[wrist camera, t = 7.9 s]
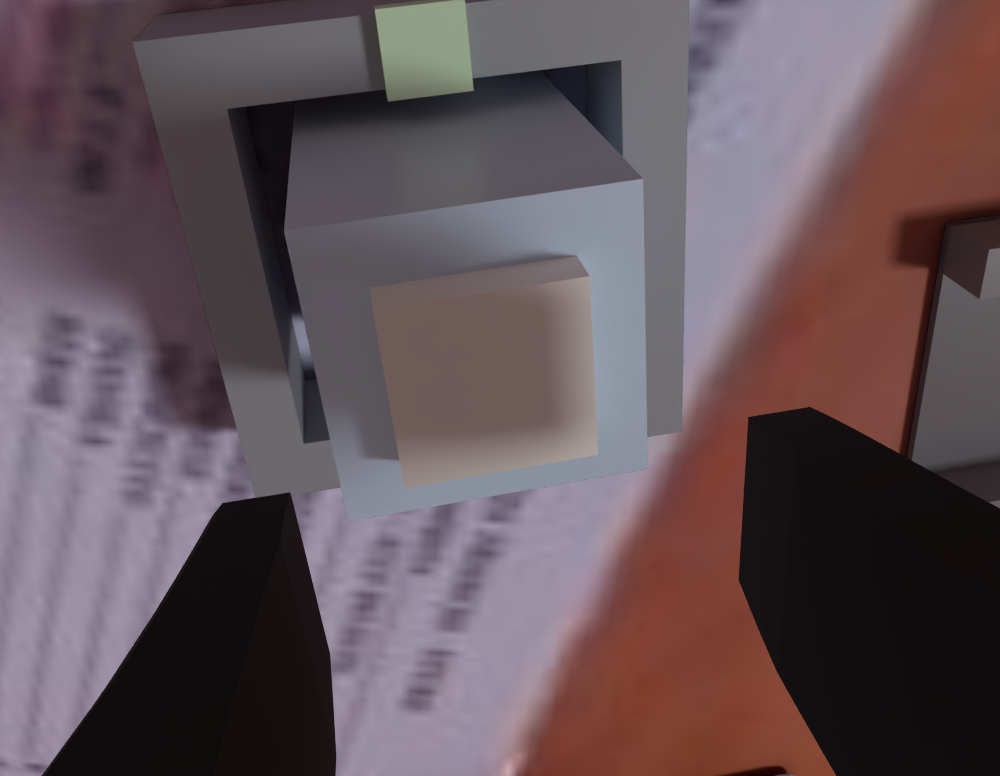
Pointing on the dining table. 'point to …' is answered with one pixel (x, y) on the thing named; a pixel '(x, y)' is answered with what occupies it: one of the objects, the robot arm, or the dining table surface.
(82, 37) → the dining table surface
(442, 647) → the dining table surface
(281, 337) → the port
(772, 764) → the dining table surface
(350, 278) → the plug
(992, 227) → the grey ridged plate
